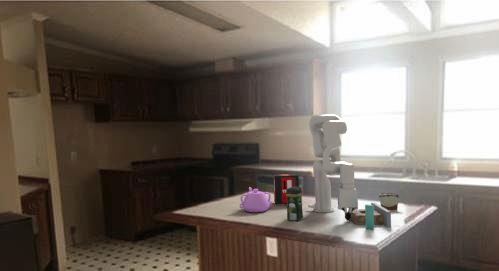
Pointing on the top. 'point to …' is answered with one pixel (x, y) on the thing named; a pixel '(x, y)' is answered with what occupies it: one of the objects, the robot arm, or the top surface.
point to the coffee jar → (294, 203)
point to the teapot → (255, 201)
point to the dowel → (369, 216)
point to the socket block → (359, 217)
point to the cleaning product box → (284, 186)
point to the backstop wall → (385, 213)
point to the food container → (389, 200)
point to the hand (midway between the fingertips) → (347, 219)
